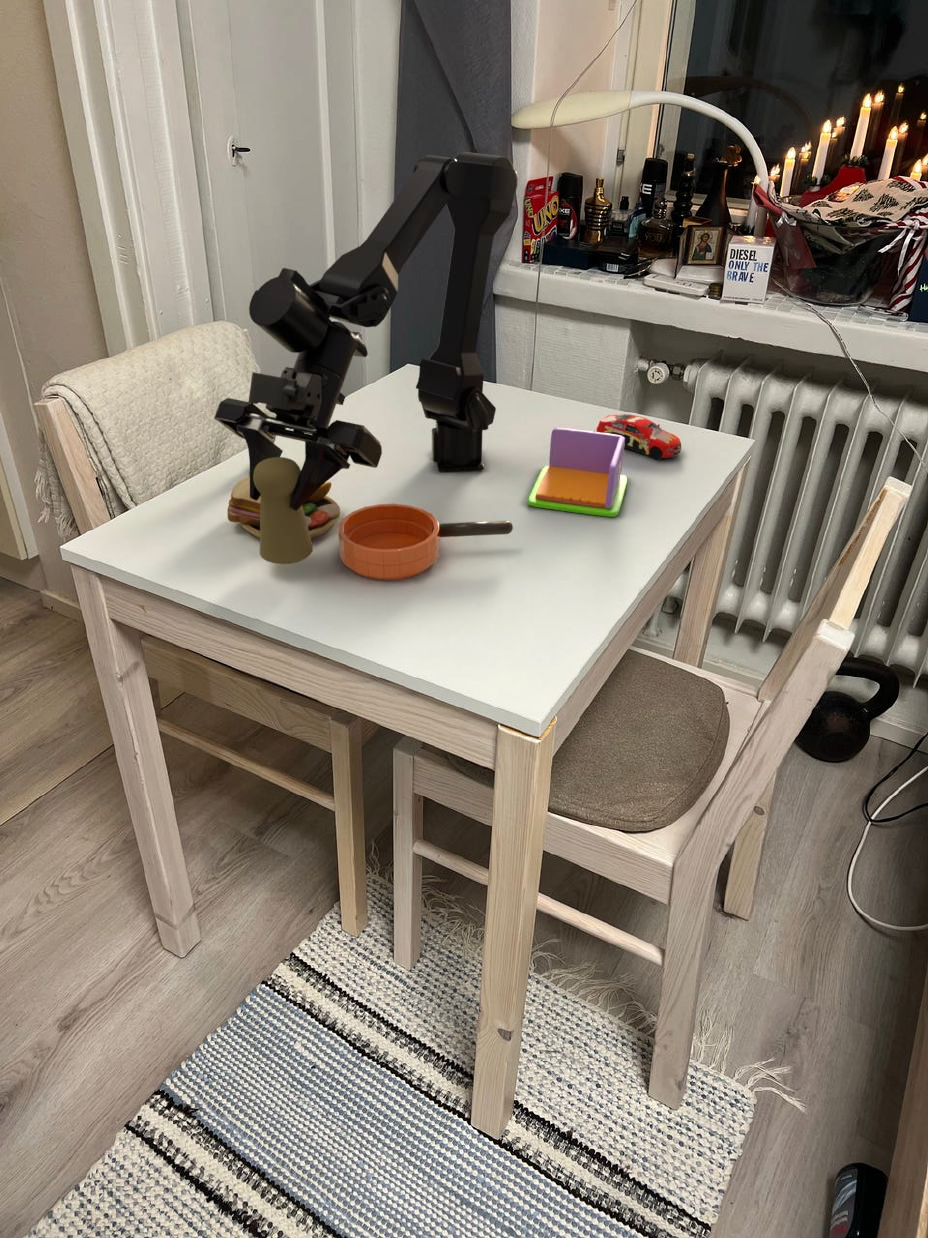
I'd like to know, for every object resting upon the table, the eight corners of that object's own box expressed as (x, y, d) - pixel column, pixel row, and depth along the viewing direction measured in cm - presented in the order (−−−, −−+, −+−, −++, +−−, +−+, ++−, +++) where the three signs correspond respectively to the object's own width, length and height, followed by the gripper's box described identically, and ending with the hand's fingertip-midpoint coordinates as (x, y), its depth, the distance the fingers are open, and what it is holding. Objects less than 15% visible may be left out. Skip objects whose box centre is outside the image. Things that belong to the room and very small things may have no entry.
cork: (322, 542, 107) (313, 455, 100) (297, 568, 102) (287, 478, 96) (275, 533, 108) (264, 447, 102) (249, 558, 104) (236, 469, 97)
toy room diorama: (628, 479, 127) (634, 432, 123) (617, 518, 117) (623, 469, 113) (543, 468, 129) (546, 422, 125) (525, 506, 120) (528, 457, 116)
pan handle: (511, 529, 109) (512, 517, 109) (513, 536, 108) (514, 524, 107) (431, 533, 109) (431, 521, 108) (432, 540, 107) (432, 527, 106)
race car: (687, 453, 134) (691, 427, 132) (668, 465, 131) (672, 439, 129) (610, 429, 141) (613, 404, 139) (591, 439, 138) (593, 414, 136)
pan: (434, 530, 114) (434, 501, 112) (443, 579, 105) (443, 549, 102) (340, 534, 113) (338, 505, 111) (341, 584, 103) (338, 554, 101)
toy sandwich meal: (312, 554, 109) (308, 518, 106) (213, 534, 113) (208, 499, 110) (357, 508, 119) (355, 474, 116) (265, 491, 122) (261, 458, 120)
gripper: (211, 325, 98) (160, 460, 96) (362, 351, 91) (311, 496, 90) (263, 373, 108) (219, 496, 106) (402, 400, 102) (357, 531, 100)
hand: (272, 504), depth 100 cm, fingers closed on cork, 5 cm apart
